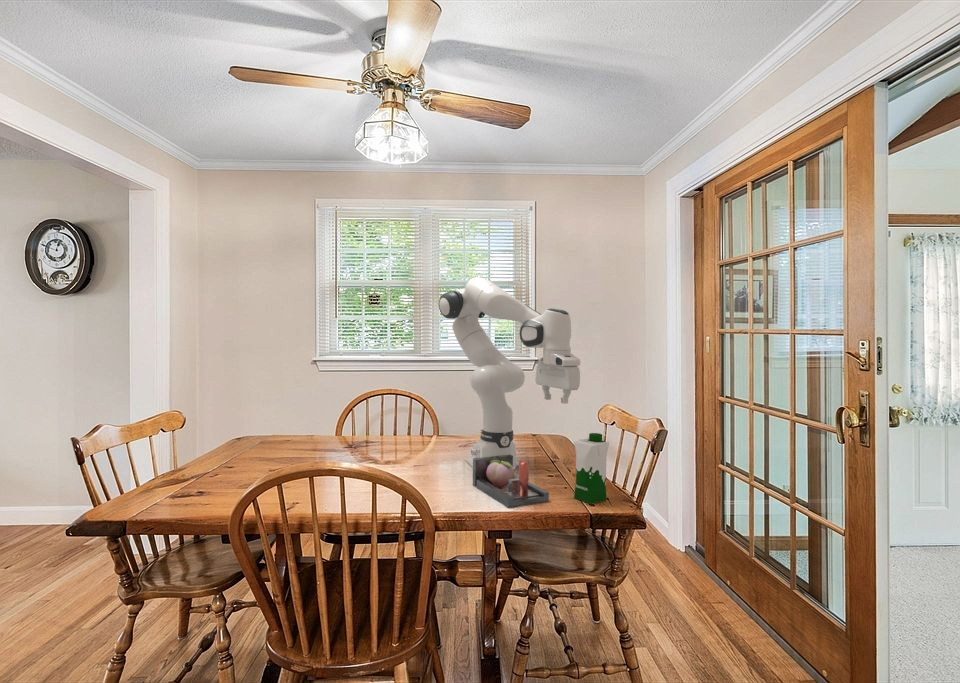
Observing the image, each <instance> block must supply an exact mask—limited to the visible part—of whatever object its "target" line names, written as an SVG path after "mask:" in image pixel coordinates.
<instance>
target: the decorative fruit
mask: <svg viewBox="0 0 960 683" xmlns="http://www.w3.org/2000/svg"><path fill="white" fill-rule="evenodd" d="M490 463H491V464H490ZM490 463H489V464H490V465H489V466H488V468H487V471H486V474H487V477H488V479H489V481H490V482H491V483H492V484H493V486H495V487H497V488H498V489H503V488H505V487H508V486H509V479H513V477H514V475H515V469H513V467H512V465H511V464H510V463H509V462H505V461H501V458H500V461H499V460H493V461H491V462H490Z"/></svg>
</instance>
